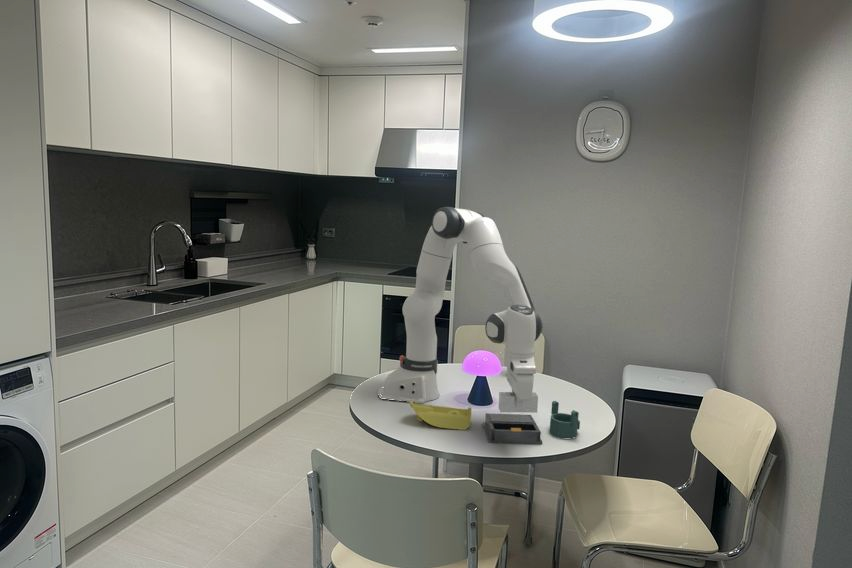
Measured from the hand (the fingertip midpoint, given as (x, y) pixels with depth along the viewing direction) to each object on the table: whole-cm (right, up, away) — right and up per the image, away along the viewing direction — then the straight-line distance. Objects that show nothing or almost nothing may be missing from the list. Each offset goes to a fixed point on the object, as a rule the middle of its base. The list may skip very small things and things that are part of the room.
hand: (517, 405), depth 166 cm
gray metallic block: (0, -2, 0) cm, 2 cm away
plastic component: (-23, -9, +13) cm, 28 cm away
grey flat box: (-1, -10, +5) cm, 11 cm away
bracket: (+16, -11, +7) cm, 20 cm away
